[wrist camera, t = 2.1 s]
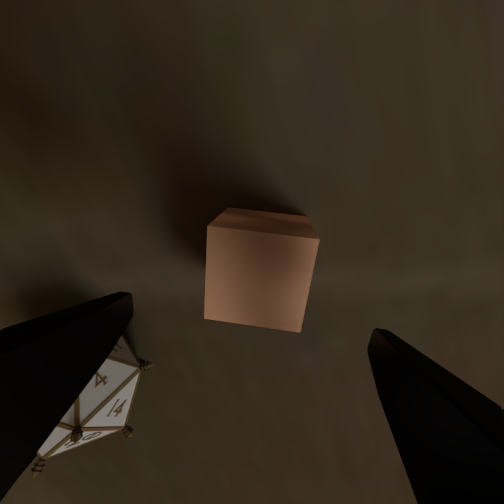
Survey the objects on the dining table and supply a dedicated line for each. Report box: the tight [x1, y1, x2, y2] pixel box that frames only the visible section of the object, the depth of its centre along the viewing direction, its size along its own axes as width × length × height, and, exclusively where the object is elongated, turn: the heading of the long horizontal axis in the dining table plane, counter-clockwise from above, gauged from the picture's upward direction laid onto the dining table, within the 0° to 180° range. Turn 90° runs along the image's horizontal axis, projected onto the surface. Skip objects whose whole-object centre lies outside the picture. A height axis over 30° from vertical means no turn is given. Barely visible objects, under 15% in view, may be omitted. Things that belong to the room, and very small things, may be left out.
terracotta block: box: [204, 207, 319, 332], centre depth 14 cm, size 5×5×5 cm
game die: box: [31, 334, 154, 479], centre depth 17 cm, size 9×8×10 cm
